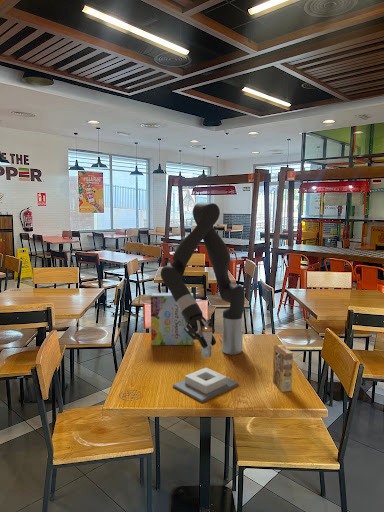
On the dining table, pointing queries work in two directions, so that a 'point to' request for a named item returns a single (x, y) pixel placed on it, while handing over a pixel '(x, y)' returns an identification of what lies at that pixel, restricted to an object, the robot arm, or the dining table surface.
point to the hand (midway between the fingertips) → (210, 345)
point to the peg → (207, 341)
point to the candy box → (282, 368)
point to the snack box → (167, 321)
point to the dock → (201, 395)
